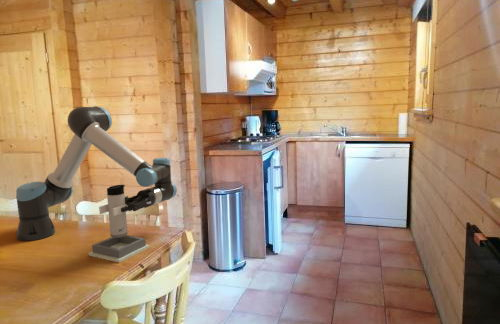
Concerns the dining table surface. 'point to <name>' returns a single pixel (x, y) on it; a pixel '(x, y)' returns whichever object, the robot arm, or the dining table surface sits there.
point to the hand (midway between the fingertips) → (106, 211)
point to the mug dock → (118, 248)
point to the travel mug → (119, 221)
